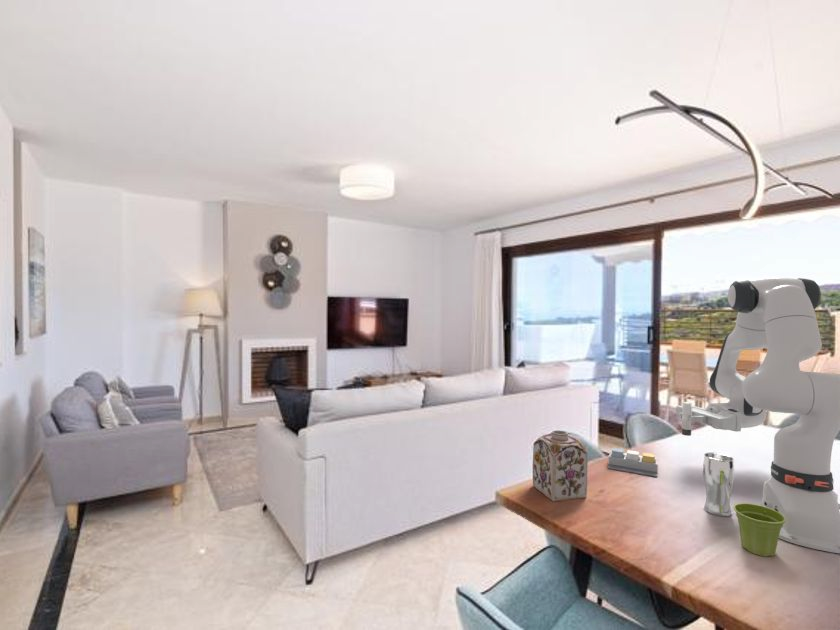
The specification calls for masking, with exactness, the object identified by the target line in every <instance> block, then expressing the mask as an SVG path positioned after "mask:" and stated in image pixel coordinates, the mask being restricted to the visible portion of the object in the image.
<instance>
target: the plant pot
mask: <svg viewBox="0 0 840 630" xmlns="http://www.w3.org/2000/svg"><path fill="white" fill-rule="evenodd" d="M733 511H735V514H736V515H735V516H736V517H737V523H738V529H739V536H740V542H741V543H740V544H741V547H742V548H744V549H745V550H747V551H748V552H749V553H752V554H754V555H758V556H761V557H768V556H771V557H774V556H775V555H776V551H777V546H778V542H779V539H780V538H779V534H780V530H781V528H782V526H783V523H785V522H786V518H785V516H784V515H782V514H781V513H779V512H777V511H775V510H773V509H770V508H768V507H764V506H762V504H755V503H748V502H740V503H736V504H734V505H733Z"/></svg>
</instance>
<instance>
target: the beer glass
mask: <svg viewBox="0 0 840 630" xmlns="http://www.w3.org/2000/svg"><path fill="white" fill-rule="evenodd" d="M734 463H735V461H734V457H732V456H730V455H728V454H724V453H718V452H705V453H704V455H703V464H702V465H703V466H702V476H703V477H702V478H703V482H704V488H705V501H704V502H705V503H704V507H703V509H704V510H705V512H707V513H709V514H712V515H714V516H718V517H730V516H732V510H731V504H730V503H731V502H730V500H731V495H732V491H733V487H734V481H735V465H734Z"/></svg>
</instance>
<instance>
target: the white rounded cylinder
mask: <svg viewBox="0 0 840 630" xmlns="http://www.w3.org/2000/svg"><path fill="white" fill-rule="evenodd" d="M681 403H682V404H681V406H682V418H681V435H683V436H687V437H688V436H692V422H691V421H688V416H692V406H693V403H692V402H689V401H682V402H681Z"/></svg>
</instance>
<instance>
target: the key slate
mask: <svg viewBox="0 0 840 630" xmlns="http://www.w3.org/2000/svg"><path fill="white" fill-rule="evenodd" d="M611 452H612V457H617V458H623V459H624V453H625V449H624V448H616V447H612V449H611Z"/></svg>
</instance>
